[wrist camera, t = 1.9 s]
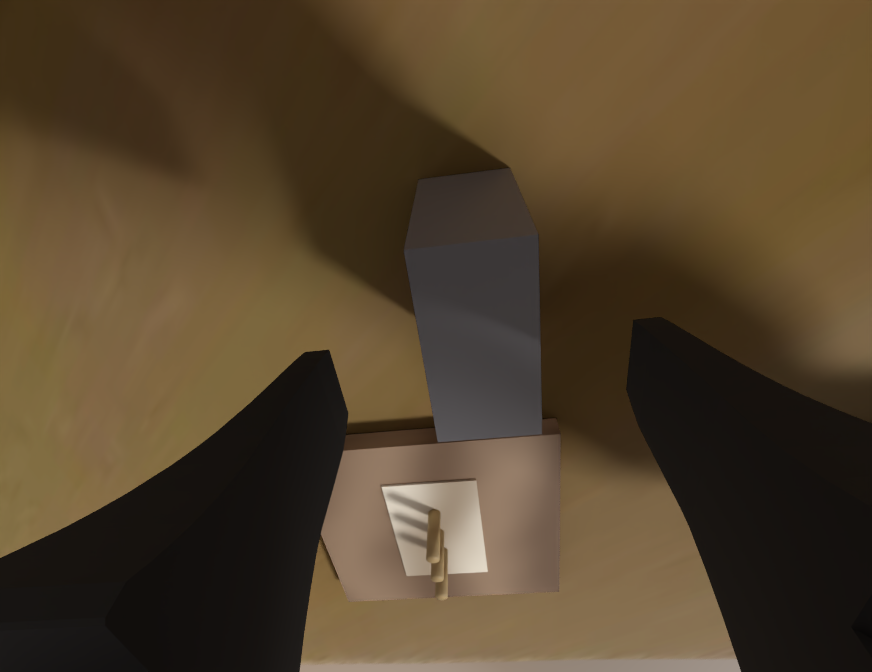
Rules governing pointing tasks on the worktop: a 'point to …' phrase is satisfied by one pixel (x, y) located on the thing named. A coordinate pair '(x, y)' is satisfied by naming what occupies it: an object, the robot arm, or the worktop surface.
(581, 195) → the worktop surface
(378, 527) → the board
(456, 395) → the block
